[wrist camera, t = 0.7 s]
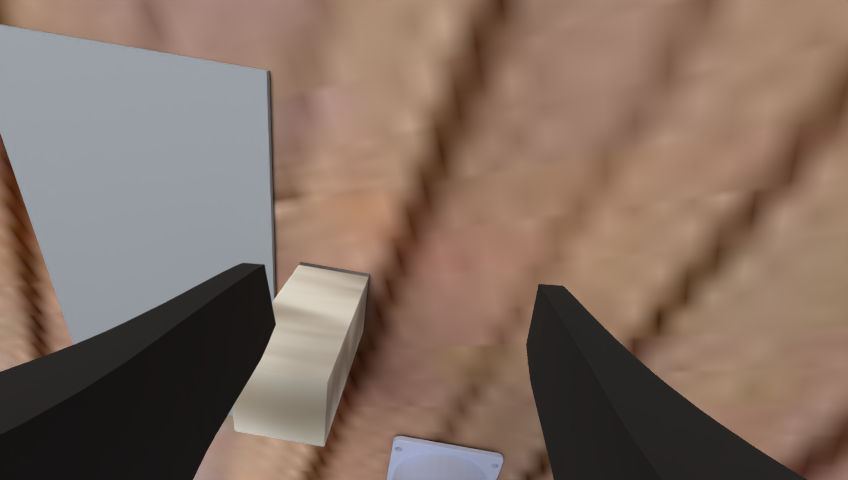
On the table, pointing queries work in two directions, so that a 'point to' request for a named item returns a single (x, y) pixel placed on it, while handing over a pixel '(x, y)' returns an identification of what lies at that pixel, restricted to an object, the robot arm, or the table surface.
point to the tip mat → (135, 170)
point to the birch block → (305, 356)
